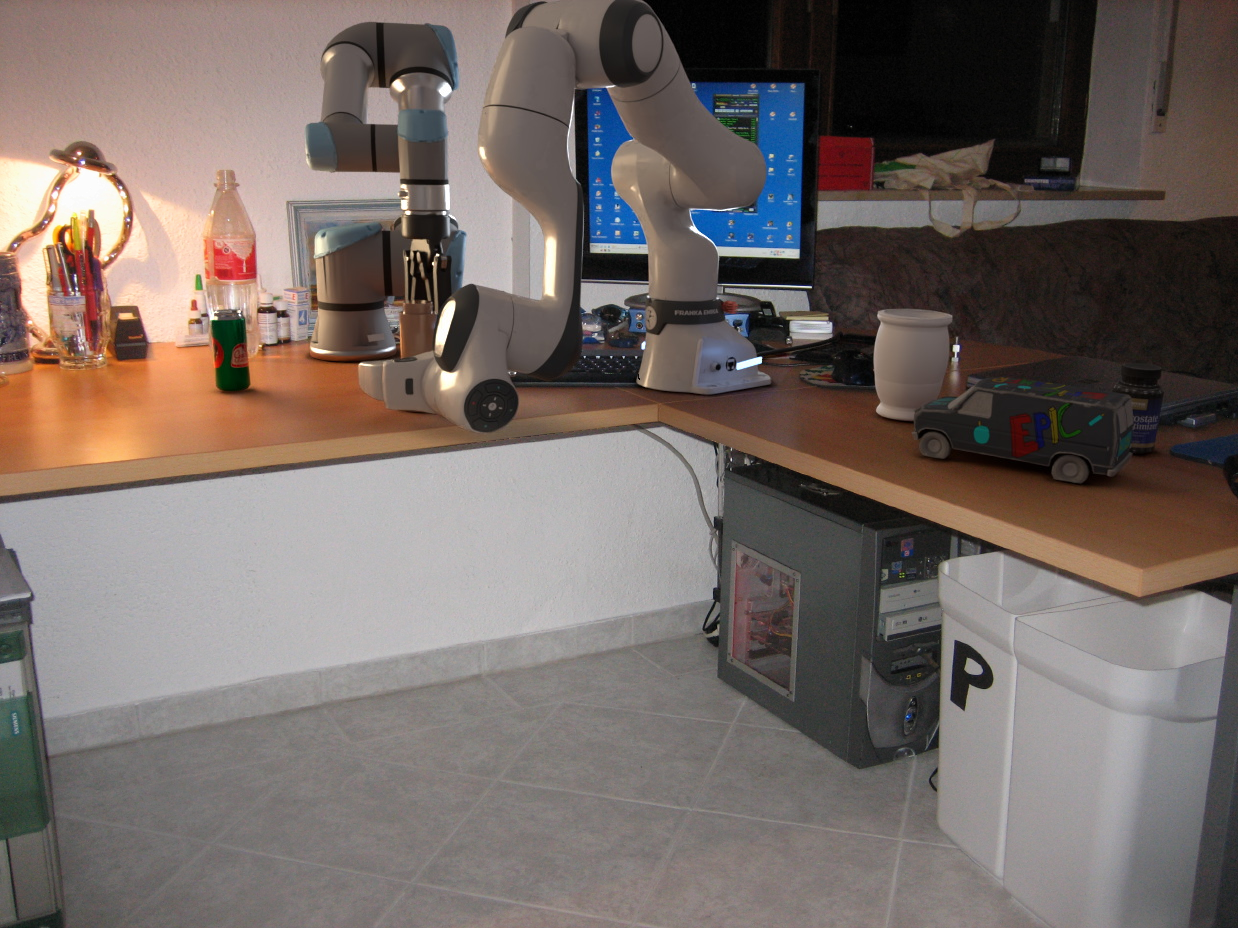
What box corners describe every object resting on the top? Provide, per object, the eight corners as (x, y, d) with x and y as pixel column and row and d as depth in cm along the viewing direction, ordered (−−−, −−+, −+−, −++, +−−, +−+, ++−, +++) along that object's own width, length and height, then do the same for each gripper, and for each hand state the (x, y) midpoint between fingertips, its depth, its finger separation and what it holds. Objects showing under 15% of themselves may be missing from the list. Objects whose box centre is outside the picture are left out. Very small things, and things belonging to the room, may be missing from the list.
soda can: (239, 393, 162) (233, 314, 158) (209, 391, 163) (202, 312, 159) (257, 386, 167) (251, 309, 163) (227, 384, 168) (221, 308, 164)
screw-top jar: (447, 407, 156) (444, 301, 152) (421, 414, 152) (417, 305, 148) (420, 402, 159) (417, 298, 155) (395, 409, 155) (390, 302, 151)
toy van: (934, 436, 145) (942, 364, 142) (1131, 470, 131) (1144, 390, 128) (905, 453, 136) (913, 376, 134) (1112, 490, 123) (1125, 406, 120)
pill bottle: (1117, 454, 138) (1130, 370, 135) (1094, 442, 144) (1106, 361, 140) (1163, 454, 138) (1177, 370, 135) (1139, 442, 144) (1152, 361, 141)
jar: (854, 409, 159) (862, 309, 155) (910, 404, 163) (920, 306, 159) (898, 426, 150) (909, 320, 146) (957, 420, 154) (969, 317, 150)
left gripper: (380, 210, 173) (386, 352, 179) (427, 216, 158) (432, 370, 164) (423, 210, 177) (427, 349, 183) (473, 215, 162) (476, 366, 168)
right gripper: (521, 352, 147) (484, 337, 158) (373, 363, 137) (346, 346, 149) (521, 397, 148) (485, 378, 160) (376, 411, 139) (349, 390, 151)
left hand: (429, 359), depth 173 cm, fingers closed on lid, 6 cm apart
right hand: (417, 363), depth 155 cm, fingers closed on screw-top jar, 5 cm apart
